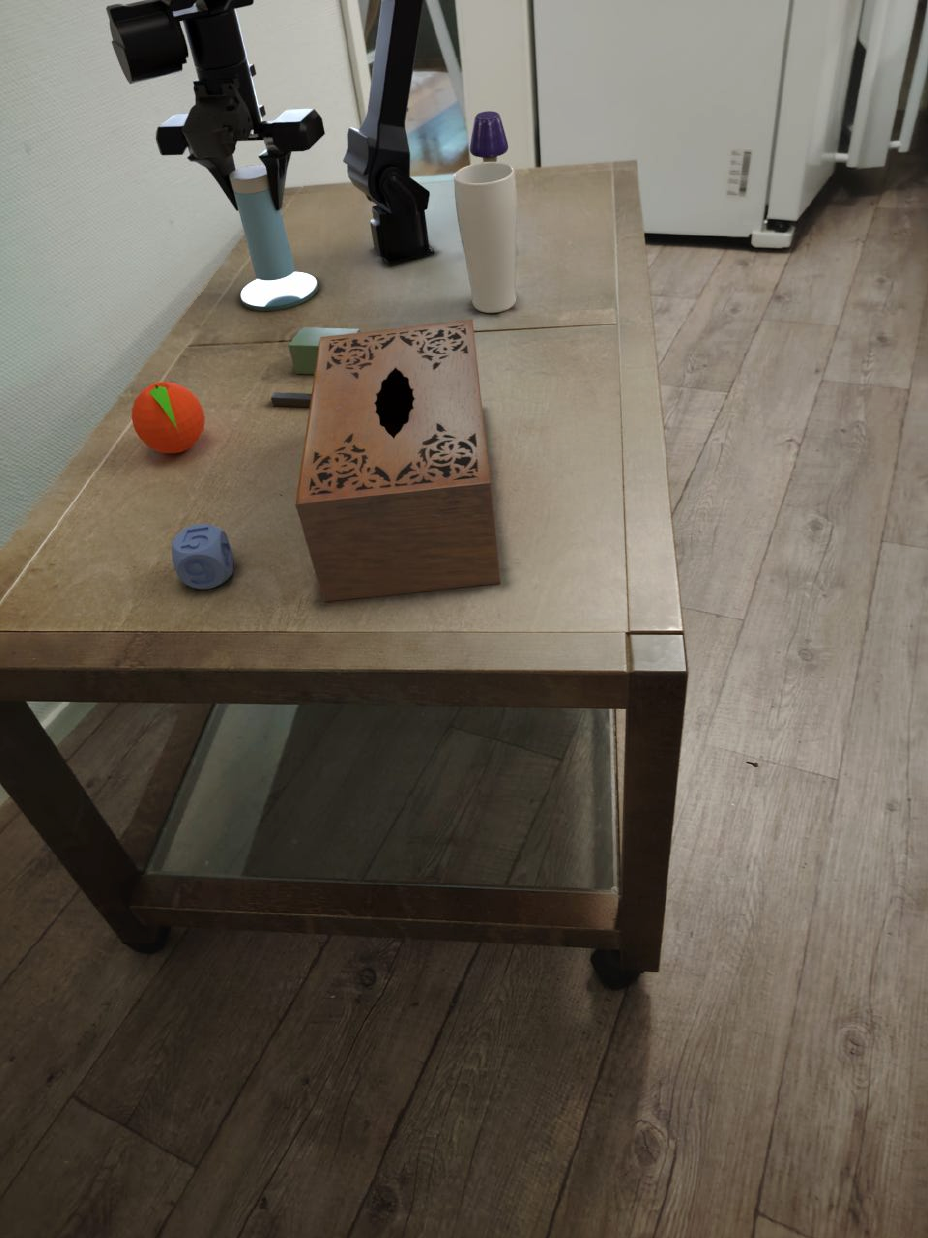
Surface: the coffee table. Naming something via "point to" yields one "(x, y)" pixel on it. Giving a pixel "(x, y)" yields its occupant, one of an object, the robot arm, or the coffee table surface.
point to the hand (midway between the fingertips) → (259, 209)
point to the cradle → (305, 361)
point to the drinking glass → (488, 232)
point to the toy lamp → (488, 137)
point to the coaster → (279, 292)
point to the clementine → (168, 417)
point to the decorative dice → (202, 556)
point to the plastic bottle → (262, 224)
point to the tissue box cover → (397, 464)
